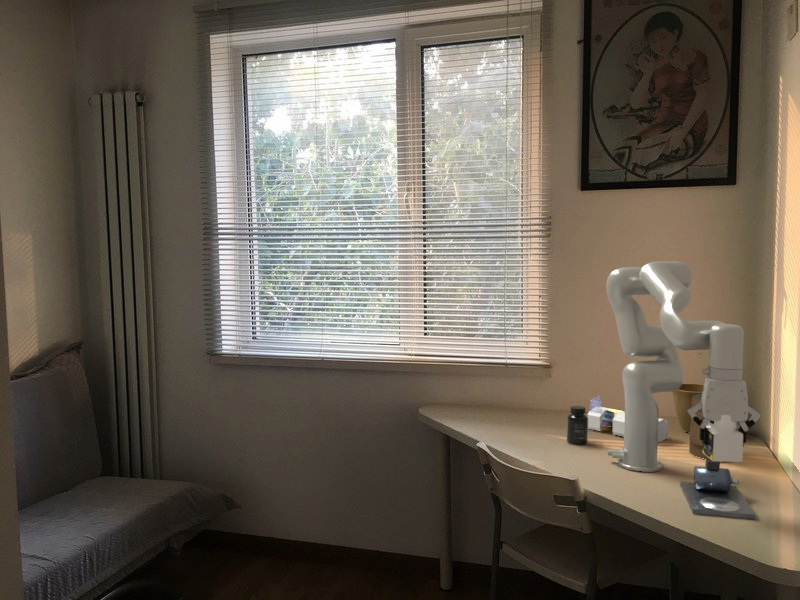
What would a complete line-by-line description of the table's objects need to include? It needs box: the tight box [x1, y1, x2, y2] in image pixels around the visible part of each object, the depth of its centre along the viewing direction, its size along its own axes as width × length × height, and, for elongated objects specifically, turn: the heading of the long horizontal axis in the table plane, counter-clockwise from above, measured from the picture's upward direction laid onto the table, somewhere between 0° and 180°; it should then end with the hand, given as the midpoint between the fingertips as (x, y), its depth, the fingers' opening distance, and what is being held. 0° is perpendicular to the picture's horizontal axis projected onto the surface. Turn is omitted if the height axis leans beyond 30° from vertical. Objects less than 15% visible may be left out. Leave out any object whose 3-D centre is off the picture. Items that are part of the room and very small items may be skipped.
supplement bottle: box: [566, 405, 589, 446], centre depth 224 cm, size 7×7×12 cm
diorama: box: [586, 395, 669, 443], centre depth 234 cm, size 25×10×13 cm, turn 43°
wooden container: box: [688, 394, 740, 460], centre depth 210 cm, size 15×15×22 cm
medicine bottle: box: [702, 415, 744, 463], centre depth 166 cm, size 7×7×12 cm
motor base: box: [679, 459, 756, 520], centre depth 172 cm, size 14×20×9 cm
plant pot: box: [671, 383, 704, 432], centre depth 237 cm, size 15×15×16 cm
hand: (722, 443), depth 166 cm, fingers closed on medicine bottle, 7 cm apart
